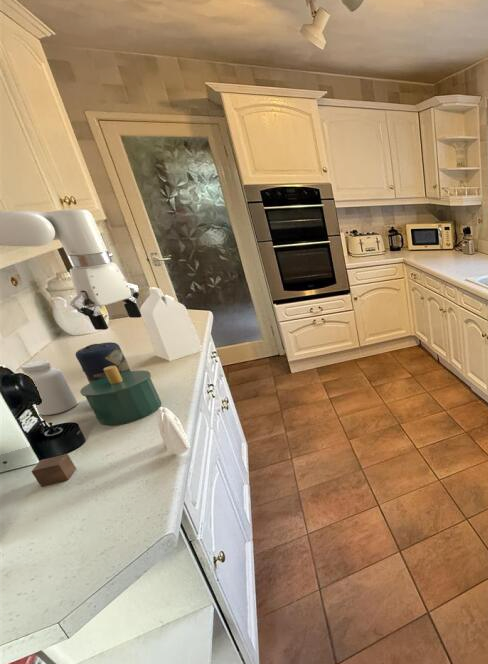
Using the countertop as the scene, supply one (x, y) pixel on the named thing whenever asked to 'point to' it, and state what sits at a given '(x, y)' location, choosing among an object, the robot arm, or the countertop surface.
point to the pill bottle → (50, 387)
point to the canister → (101, 360)
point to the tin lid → (115, 382)
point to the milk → (169, 326)
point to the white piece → (172, 432)
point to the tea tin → (126, 405)
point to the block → (54, 470)
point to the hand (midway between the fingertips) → (119, 323)
